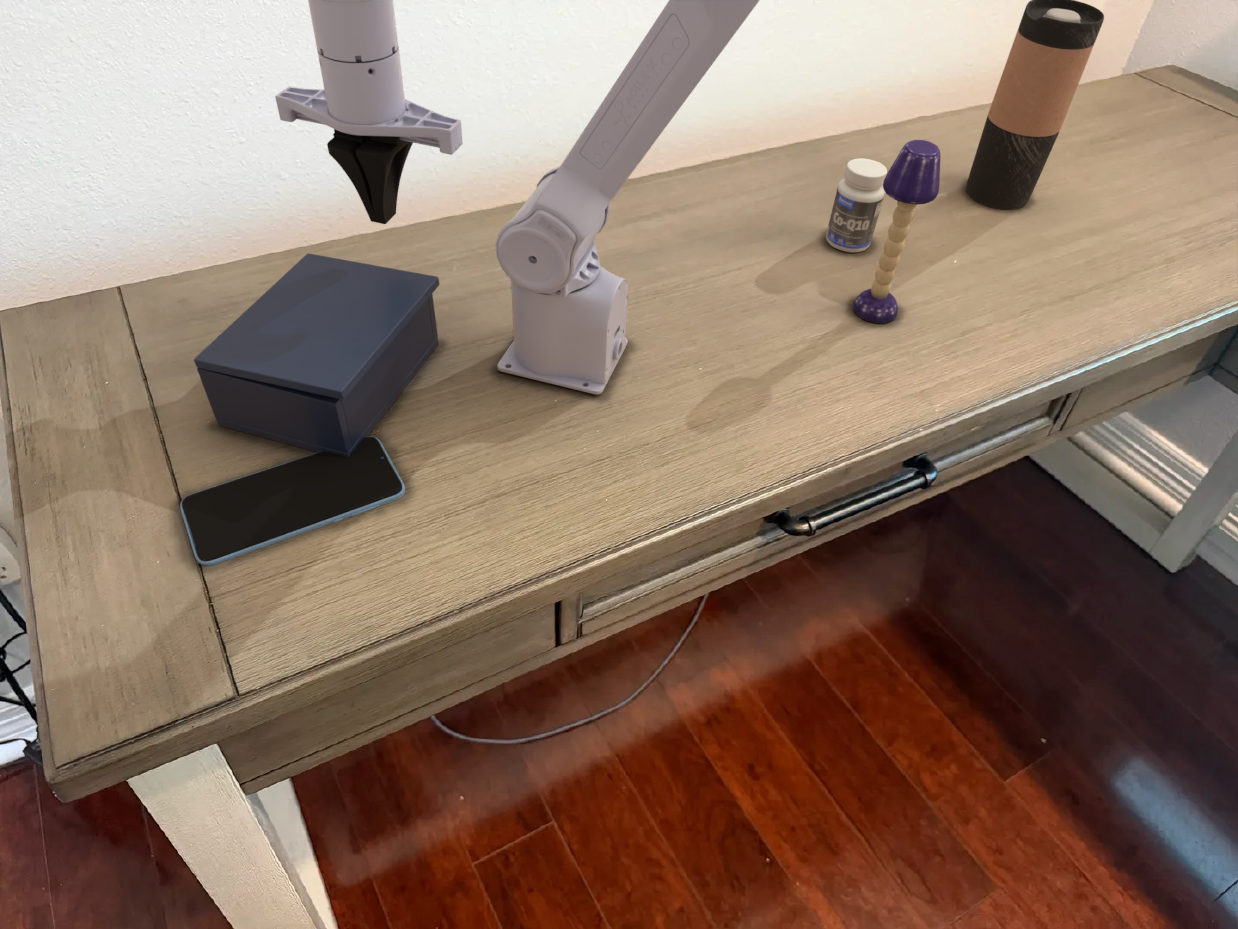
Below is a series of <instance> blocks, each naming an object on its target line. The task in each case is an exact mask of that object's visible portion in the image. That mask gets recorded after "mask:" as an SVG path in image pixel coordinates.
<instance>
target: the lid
mask: <svg viewBox="0 0 1238 929" xmlns="http://www.w3.org/2000/svg"><path fill="white" fill-rule="evenodd" d="M439 286H440V278H439V277H438V276H436V275H431V274H424V273H419V272H414V271H409V270H404V269H403V270H402V269H397V268H392V267H387V266H381V265H377V264H376V265H375V264H370V263H364V262H359V261H353V260H347V259H341V258H337V257H331V256H326V255H319V254H315V253H309V252H307V253H306V254H305V255H304V256H303V257H302V258H301V259H300V260H299V261H297V263H295V264H294V265H293V266H292V267H291V268H290V269H289V270H288V271H287V272H286V273H284V274H283V275H282V277H280V278H279V279H278V280H277V281H276V282H275V283H273V285H272V286H270V287H269V289H267V290H266V291H265V292H264V293H263V294H262V295H261V296H260V297H259V298H258V299H256V301H254V302H253V304H251V305H250V306H249V307H248V308H247V309H246V310H245V311H244V312H243V313H242V314H241V315H239V316H238V318H236V319H235V320H234V321H233V322H232V323H231V324H230V325H229V326H228V327H227V328H226V329H225V330H224V331H222V332H221V333H220V334H219V335H218V336H217V337H216V338H215V339H213V340H212V342H211V343H210V344H208V345H207V346H206V347H205V348H204V349H202V351H201V352H200V353H199V354H198V355H196V356H195V358H194V359H193V362H194V364H195V367H196V369H197V368H201V369H206V370H210V371H215V372H219V373H224V374H228V375H233V376H237V377H242V378H247V379H251V380H256V381H260V382H265V383H269V384H274V385H278V386H283V387H287V388H292V389H297V390H301V391H306V392H310V393H315V394H319V395H324V396H328V397H333V398H337V399H342V400H344V399H345V397H346V396H347V395H348V394H349V393H350V391H351V390H352V389H353V388H354V387H355V385H356V384H357V383H358V382H359V381H360V379H361V378H362V377H363V376H364V375H365V373H366V372H367V371H368V370H369V369H370V367H371V366H372V365H373V364H374V363H375V362H376V360H377V359H378V358H379V357H380V356H381V354H382V353H383V352H384V351H385V350H386V348H387V347H388V346H389V345H390V344H391V342H392V341H393V340H394V339H395V338H396V336H397V335H398V334H399V333H400V332H401V330H402V329H403V328H404V327H405V326H406V324H407V323H408V322H409V321H410V320H411V318H412V317H413V316H414V315H415V314H416V312H417V311H418V310H419V309H420V308H421V306H422V305H423V304H424V303H425V302H426V300H427V299H428V298H429V297H430V296H431V294H432V295H433V293H434V292H435V291H436V290H437V289H438V287H439Z"/></svg>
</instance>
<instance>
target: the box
mask: <svg viewBox="0 0 1238 929" xmlns="http://www.w3.org/2000/svg"><path fill="white" fill-rule="evenodd" d="M434 303H435V302H434V294H433V293H432V294H431V296H430V297H429V298H428V299H427V300H426V302H425V303H424V304H423V305H422V306H421V308H420V309H419V310H418V311H417V312H416V314H415V315H414V316H413V317H412V318H411V320H410V321H409V322H408V323H407V324H406V326H405V327H404V328H403V329H402V330H401V332H400V333H399V334H398V335H397V336H396V338H395V339H394V340H393V341H392V342H391V344H390V345H389V346H388V347H387V348H386V350H385V351H384V352H383V353H382V354H381V356H380V357H379V358H378V359H377V360H376V362H375V363H374V364H373V365H372V366H371V367H370V369H369V370H368V371H367V372H366V373H365V375H364V376H363V377H362V378H361V379H360V381H359V382H358V383H357V384H356V385H355V387H354V388H353V389H352V390H351V391H350V393H349V394H348V395H347V396H346V397H345V399H344V400H342V399H337V398H333V397H328V396H324V395H319V394H315V393H310V392H306V391H301V390H297V389H292V388H287V387H283V386H278V385H274V384H269V383H265V382H260V381H256V380H251V379H247V378H242V377H237V376H233V375H228V374H224V373H219V372H215V371H210V370H206V369H201V368H197V367H196V370H197V373H198V376H199V378H200V382H201V384H202V386H203V388H204V392H205V394H206V397H207V399H208V402H209V405H210V407H211V410H212V412H213V415H214V418H215V420H216V423H217V425H218V426H220V427H222V428H223V427H224V428H228V429H230V430H235V431H237V432H242V433H245V434H249V435H253V436H257V437H259V438H264V439H267V440H271V441H273V442H278V443H282V444H285V445H289V446H292V447H297V448H301V449H304V450H308V451H311V452H314V453H317V452H320V451H326V452H329V453H333V454H337V455H340V456H344V457H349V456H350V455H351V453H352V452H353V451H354V449H355V448H356V447H357V446H358V444H359V443H360V442H361V440H362V439H363V438H364V437H368V436H370V434H371V433H372V432H373V430H375V428H376V426H377V425H378V424H379V423H380V422H381V420H382V419H383V418H384V416H385V415H386V414H387V412H388V411H389V410H390V409H391V407H393V404H394V403H395V402H396V401H397V399H398V398H399V397H400V395H401V394H402V393H403V391H404V390H405V389H406V387H407V386H408V385H409V384H410V382H411V381H412V380H413V378H414V377H415V376H416V374H418V372H419V371H420V369H421V368H422V367H423V366H424V364H425V363H426V361H427V360H428V359H429V358H430V356H431V355H432V354H433V352H434V351H435V350H436V348H437V347H438V346H439V335H438V327H437V319H436V318H437V317H436V312H435V304H434Z"/></svg>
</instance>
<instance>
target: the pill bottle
mask: <svg viewBox="0 0 1238 929" xmlns="http://www.w3.org/2000/svg"><path fill="white" fill-rule="evenodd" d="M887 173H888V168H887V166H885V165H884V164H883V163H881V162H879V161H876V160H874V159H870V158H860V157H859V158H854V159H851V160H849V161H848V162H847V164H846V166H845V171H844V173H843V178H842V179H841V180H840V181H839V183H838V184H837V188H836V193H835V197H834V200H833V205H832V208H831V213H830V217H829V221H828V225H827V229H826V234H825V239H826V241H827V243H828V244H829V245H830V246H831V247H832V248H834V249H837V250H840V251H843V252H845V253H861V252H863V251H867V249H868V248H869V247H870V245H871V244H872V240H873V237H874V233H875V229H876V227H877V224H878V220H879V216H880V212H881V209H882V206H883V202H884V198H885V196H886V192H885V191H884V188H883V182H884V179H885V177H886V175H887Z"/></svg>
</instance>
